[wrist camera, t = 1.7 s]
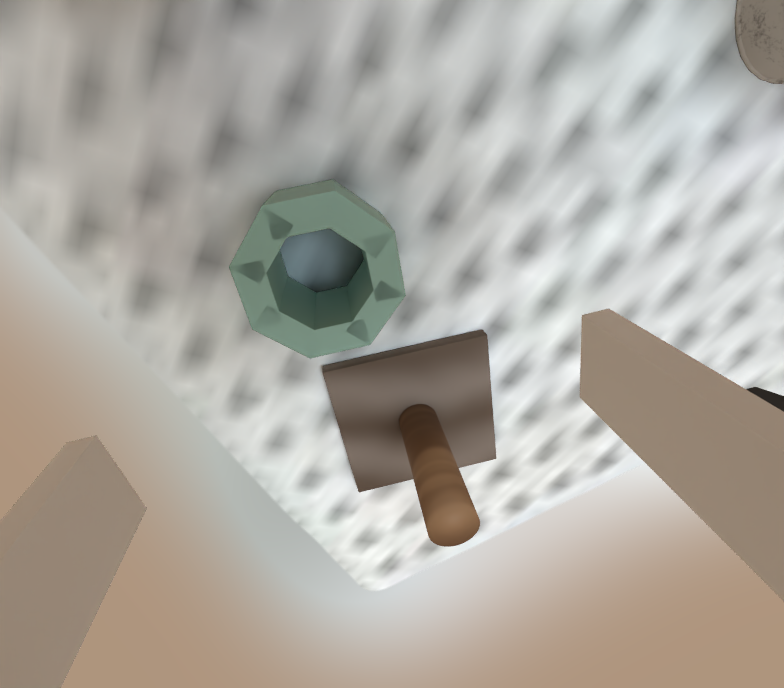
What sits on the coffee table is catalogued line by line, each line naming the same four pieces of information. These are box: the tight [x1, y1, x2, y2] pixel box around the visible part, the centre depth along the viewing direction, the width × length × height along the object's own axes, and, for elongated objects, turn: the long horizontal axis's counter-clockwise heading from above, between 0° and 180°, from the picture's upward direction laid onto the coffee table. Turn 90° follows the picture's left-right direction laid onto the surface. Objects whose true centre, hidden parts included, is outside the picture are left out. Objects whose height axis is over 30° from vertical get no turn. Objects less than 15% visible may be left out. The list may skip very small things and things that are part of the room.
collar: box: [229, 179, 406, 358], centre depth 23 cm, size 8×8×6 cm
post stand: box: [323, 330, 496, 546], centre depth 28 cm, size 12×12×11 cm
